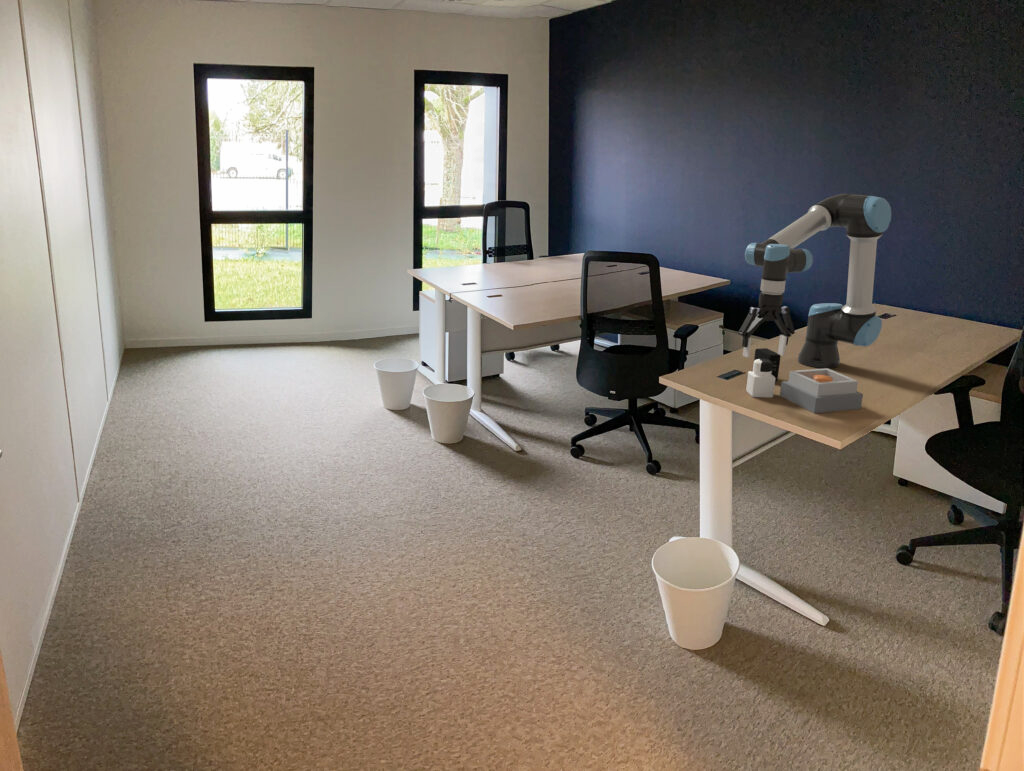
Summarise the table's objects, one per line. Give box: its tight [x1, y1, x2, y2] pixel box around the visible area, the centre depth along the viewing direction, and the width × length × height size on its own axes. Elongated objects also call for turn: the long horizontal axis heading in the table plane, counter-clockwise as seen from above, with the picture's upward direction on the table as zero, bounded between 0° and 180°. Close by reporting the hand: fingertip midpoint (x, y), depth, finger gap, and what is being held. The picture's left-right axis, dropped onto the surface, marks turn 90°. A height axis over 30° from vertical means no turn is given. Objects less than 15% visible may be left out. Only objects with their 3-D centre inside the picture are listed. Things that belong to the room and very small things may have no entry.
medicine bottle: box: [745, 359, 776, 399], centre depth 280 cm, size 7×7×12 cm
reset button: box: [813, 375, 833, 383], centre depth 273 cm, size 6×6×5 cm
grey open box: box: [779, 368, 864, 414], centre depth 274 cm, size 18×18×9 cm
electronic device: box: [753, 347, 781, 382], centre depth 298 cm, size 4×10×10 cm, turn 16°
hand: (763, 355), depth 277 cm, fingers open, 13 cm apart
